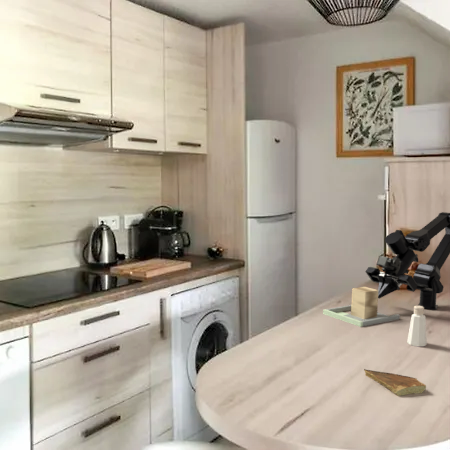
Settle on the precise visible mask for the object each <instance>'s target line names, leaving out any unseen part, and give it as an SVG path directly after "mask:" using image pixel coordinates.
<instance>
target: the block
mask: <svg viewBox="0 0 450 450" xmlns="http://www.w3.org/2000/svg"><path fill="white" fill-rule="evenodd" d="M378 303H379V298H378V289H375V288H372V287H371V288H370V287H368V286H360V287H353V288H352V289H351V304H350V305H351V311H350V314H351V315H353V316H356V317H359V318H362V319H368V318H373V317H377V312H378Z"/></svg>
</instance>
